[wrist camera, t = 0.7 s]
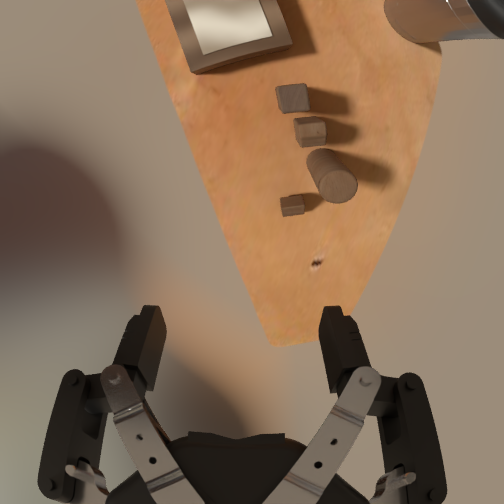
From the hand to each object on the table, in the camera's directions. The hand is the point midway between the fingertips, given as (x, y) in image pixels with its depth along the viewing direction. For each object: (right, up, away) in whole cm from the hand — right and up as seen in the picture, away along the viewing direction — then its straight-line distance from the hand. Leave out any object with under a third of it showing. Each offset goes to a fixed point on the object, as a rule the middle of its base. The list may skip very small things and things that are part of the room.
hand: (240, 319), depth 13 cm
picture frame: (-3, +34, +11) cm, 35 cm away
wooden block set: (+8, +17, +22) cm, 29 cm away
